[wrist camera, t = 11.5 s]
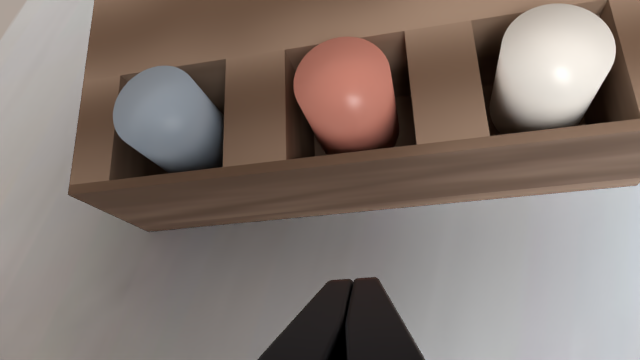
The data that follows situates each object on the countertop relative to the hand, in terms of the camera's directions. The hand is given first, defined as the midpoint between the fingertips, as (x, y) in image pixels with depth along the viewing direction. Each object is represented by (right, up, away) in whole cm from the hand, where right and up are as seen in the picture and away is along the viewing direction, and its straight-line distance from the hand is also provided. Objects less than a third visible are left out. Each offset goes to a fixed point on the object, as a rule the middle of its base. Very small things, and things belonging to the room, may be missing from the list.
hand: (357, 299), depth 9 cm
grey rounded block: (-6, +3, +14) cm, 16 cm away
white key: (+8, +5, +12) cm, 15 cm away
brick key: (+1, +4, +13) cm, 14 cm away
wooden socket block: (+1, +5, +16) cm, 17 cm away
